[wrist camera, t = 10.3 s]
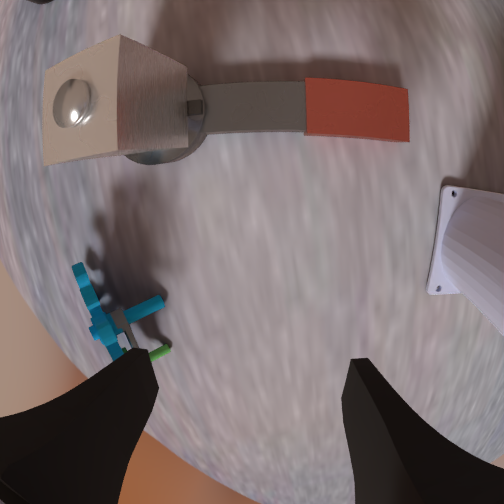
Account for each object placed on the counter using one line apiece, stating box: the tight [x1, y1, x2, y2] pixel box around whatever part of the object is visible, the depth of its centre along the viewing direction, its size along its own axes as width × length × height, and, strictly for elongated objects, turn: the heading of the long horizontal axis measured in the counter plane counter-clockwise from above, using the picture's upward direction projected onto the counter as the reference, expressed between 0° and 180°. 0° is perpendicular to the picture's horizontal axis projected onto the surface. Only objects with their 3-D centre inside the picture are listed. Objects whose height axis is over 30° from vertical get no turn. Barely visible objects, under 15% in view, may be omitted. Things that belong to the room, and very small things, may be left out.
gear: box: [72, 262, 171, 362], centre depth 19 cm, size 11×6×10 cm
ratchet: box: [125, 74, 409, 165], centre depth 13 cm, size 18×6×5 cm, turn 91°
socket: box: [43, 34, 188, 166], centre depth 11 cm, size 5×5×6 cm
